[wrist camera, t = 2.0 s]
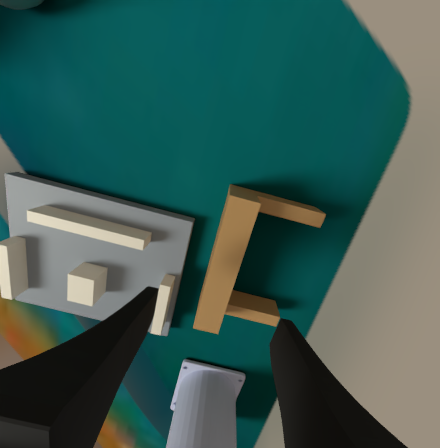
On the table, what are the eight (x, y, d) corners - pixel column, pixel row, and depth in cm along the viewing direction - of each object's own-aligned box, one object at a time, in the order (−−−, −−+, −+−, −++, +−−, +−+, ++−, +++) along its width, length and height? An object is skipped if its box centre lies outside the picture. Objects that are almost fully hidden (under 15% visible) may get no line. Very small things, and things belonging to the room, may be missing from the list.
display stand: (170, 327, 25) (160, 354, 22) (25, 292, 24) (-6, 314, 21) (195, 218, 20) (188, 231, 17) (17, 172, 20) (-25, 176, 16)
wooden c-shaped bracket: (315, 206, 19) (342, 225, 15) (271, 309, 23) (281, 349, 18) (230, 184, 19) (229, 195, 14) (201, 291, 23) (192, 328, 18)
